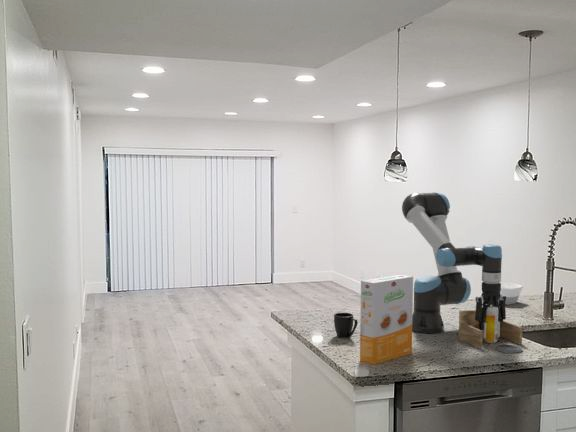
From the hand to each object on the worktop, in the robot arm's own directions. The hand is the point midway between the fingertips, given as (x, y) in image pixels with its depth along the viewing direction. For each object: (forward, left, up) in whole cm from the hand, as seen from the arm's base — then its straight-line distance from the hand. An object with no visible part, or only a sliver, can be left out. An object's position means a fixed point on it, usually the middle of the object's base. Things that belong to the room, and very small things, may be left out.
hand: (489, 336), depth 243 cm
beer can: (0, 0, -2) cm, 2 cm away
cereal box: (-51, -6, -2) cm, 51 cm away
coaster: (0, -12, -2) cm, 12 cm away
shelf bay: (0, 0, -2) cm, 2 cm away
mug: (-55, +23, -2) cm, 60 cm away
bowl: (+57, +64, -2) cm, 86 cm away
